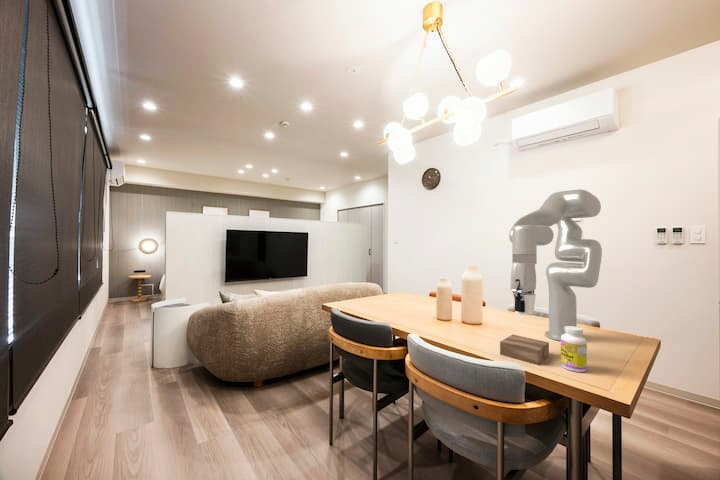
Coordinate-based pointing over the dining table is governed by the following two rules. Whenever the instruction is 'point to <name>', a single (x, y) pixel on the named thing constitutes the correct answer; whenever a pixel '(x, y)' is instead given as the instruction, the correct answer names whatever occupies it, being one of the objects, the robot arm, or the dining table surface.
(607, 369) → the dining table surface
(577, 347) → the supplement bottle
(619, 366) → the dining table surface
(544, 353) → the walnut block
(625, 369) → the dining table surface
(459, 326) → the dining table surface
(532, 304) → the white cup
